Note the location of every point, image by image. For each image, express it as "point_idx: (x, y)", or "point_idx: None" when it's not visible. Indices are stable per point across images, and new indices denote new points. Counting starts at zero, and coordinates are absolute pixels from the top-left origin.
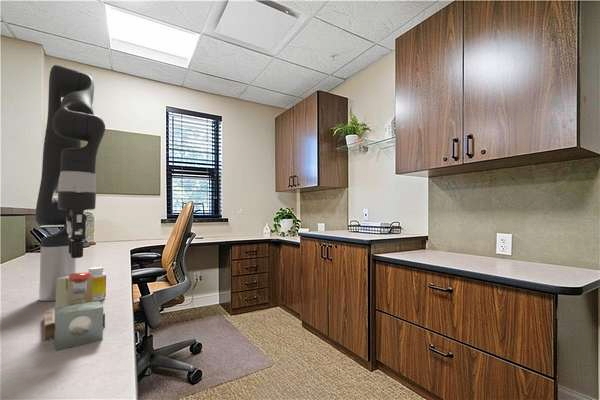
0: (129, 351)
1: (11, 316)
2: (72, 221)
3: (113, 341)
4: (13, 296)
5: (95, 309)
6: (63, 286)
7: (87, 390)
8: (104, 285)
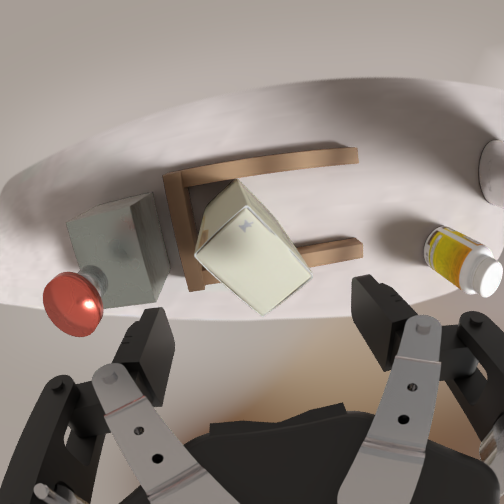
0: None
1: (413, 87)
2: (21, 480)
3: None
4: None
5: None
6: (215, 224)
7: None
8: (447, 279)
